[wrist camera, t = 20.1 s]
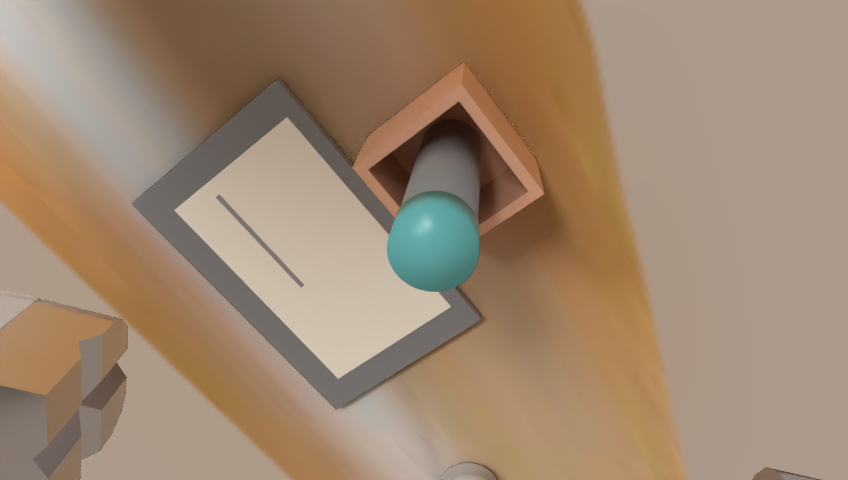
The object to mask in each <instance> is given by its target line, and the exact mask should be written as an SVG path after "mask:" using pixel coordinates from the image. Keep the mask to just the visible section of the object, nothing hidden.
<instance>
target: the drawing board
mask: <svg viewBox="0 0 848 480" xmlns="http://www.w3.org/2000/svg"><path fill="white" fill-rule="evenodd" d="M352 167H353V164H352V162H351V161H350V160H349V159H348V158H347V157H346V155H345V154H344V153H343V152H342V151H341V149H340V148H339V147H338V146H337V145H336V144H335V142H334V141H333V140H332V139H331V138H330V137H329V135H328V134H327V133H326V132H325V131H324V129H323V128H322V127H321V126H320V125H319V124H318V122H317V121H316V120H315V119H314V118H313V117H312V115H311V114H310V113H309V112H308V111H307V110H306V108H305V107H304V106H303V105H302V104H301V102H300V101H299V100H298V99H297V98H296V97H295V95H294V94H293V93H292V92H291V91H290V90H289V88H288V87H287V86H286V85H285V84H284V82H283V81H282V80H281V79H280V78H278V79H277V80H275V81H274V82H273V83H272V84H271V85H270V86H268V87H267V88H266V89H265V90H264V91H263V92H261V93H260V94H259V95H258V96H257V97H256V98H254V99H253V100H252V101H251V102H250V103H249V104H247V105H246V106H245V107H244V108H243V109H242V110H240V111H239V112H238V113H237V114H236V115H234V116H233V117H232V118H231V119H230V120H229V121H227V122H226V123H225V124H224V125H223V126H222V127H220V128H219V129H218V130H217V131H216V132H215V133H213V134H212V135H211V136H210V137H209V138H208V139H206V140H205V141H204V142H203V143H202V144H201V145H199V146H198V147H197V148H196V149H195V150H194V151H192V152H191V153H190V154H189V155H188V156H187V157H185V158H184V159H183V160H182V161H181V162H180V163H178V164H177V165H176V166H175V167H174V168H173V169H171V170H170V171H169V172H168V173H167V174H166V175H164V176H163V177H162V178H161V179H160V180H159V181H157V182H156V183H155V184H154V185H153V186H152V187H150V188H149V189H148V190H147V191H146V192H144V193H143V194H142V195H141V196H140V197H139V198H137V199H136V200H135V201H134V202H133V203H132V205H133V206H134V207H135V208H136V209H137V210H138V211H139V212H140V213H141V214H142V215H143V216H144V217H145V218H146V219H147V220H148V221H149V222H150V223H151V224H152V225H153V226H154V227H155V228H156V229H157V230H158V231H159V232H160V233H161V234H162V235H163V236H164V237H165V238H166V239H167V240H168V241H169V242H170V243H171V244H172V245H173V246H174V247H175V248H176V249H177V250H178V251H179V252H180V253H181V254H182V255H183V256H184V257H185V258H186V259H187V260H188V261H189V262H190V263H191V264H192V265H193V266H194V267H195V268H196V269H197V270H198V271H199V272H200V273H201V274H202V275H203V276H204V277H205V278H206V279H207V280H208V281H209V282H210V283H211V284H212V285H213V286H214V287H215V288H216V289H217V290H218V291H219V292H220V293H221V294H222V295H223V296H224V297H225V298H226V299H227V300H228V301H229V302H230V303H231V304H232V305H233V306H234V307H235V308H236V309H237V310H238V311H239V312H240V313H241V314H242V315H243V316H244V317H245V319H246V320H247V321H248V322H249V323H250V324H251V325H252V326H253V327H254V328H255V329H256V330H257V331H258V332H259V333H260V334H261V335H262V336H263V337H264V338H265V339H266V340H267V341H268V342H269V343H270V344H271V345H272V346H273V347H274V348H275V349H276V350H277V351H278V352H279V353H280V354H281V355H282V356H283V357H284V358H285V359H286V360H287V361H288V362H289V363H290V364H291V365H292V366H293V367H294V368H295V369H296V370H297V371H298V372H299V373H300V374H301V375H302V376H303V377H304V378H305V379H306V380H307V381H308V382H309V383H310V384H311V385H312V386H313V387H314V388H315V389H316V390H317V391H318V392H319V393H320V394H321V395H322V396H323V397H324V398H325V399H326V400H327V401H328V402H329V403H330V404H331V405H332V406H333V407H334V408H335V409H336V410H337V409H338V408H340V407H341V406H343V405H345V404H346V403H348V402H349V401H351V400H353V399H354V398H356V397H358V396H359V395H361V394H362V393H364V392H366V391H367V390H369V389H370V388H372V387H374V386H375V385H377V384H378V383H380V382H382V381H383V380H385V379H387V378H388V377H390V376H391V375H393V374H395V373H396V372H398V371H399V370H401V369H403V368H404V367H406V366H407V365H409V364H411V363H412V362H414V361H416V360H417V359H419V358H420V357H422V356H424V355H425V354H427V353H428V352H430V351H432V350H433V349H435V348H437V347H438V346H440V345H441V344H443V343H445V342H446V341H448V340H449V339H451V338H453V337H454V336H456V335H457V334H459V333H461V332H462V331H464V330H466V329H467V328H469V327H470V326H472V325H474V324H475V323H477V322H478V321H480V320H481V314H480V313H479V312H478V311H477V309H476V308H475V307H474V306H473V305H472V303H471V302H470V301H469V300H468V299H467V298H466V296H465V295H464V294H463V293H462V292H461V291H460V289H459V288H458V287H455V288H452V289H450V290H446V291H440V292H429V291H423V290H420V289H417V288H414V287H412V286H410V285H408V284H407V283H405V282H404V281H403V280H401V279H400V278H399V277H398V276H397V274H396V273H395V272H394V271H393V269H392V267H391V265H390V263H389V260H388V256H387V242H388V237H389V234H390V231H391V228H392V225H393V222H394V219H395V218H394V216H393V215H392V214H391V213H390V212H389V210H388V209H387V208H386V207H385V206H384V205H383V203H382V202H381V201H380V200H379V199H378V198H377V196H376V195H375V194H374V193H373V192H372V191H371V189H370V188H369V187H368V186H367V185H366V184H365V182H364V181H363V180H362V179H361V178H360V176H359V175H358V174H357V173H356V172H355V171H354V169H353V168H352Z"/></svg>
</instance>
